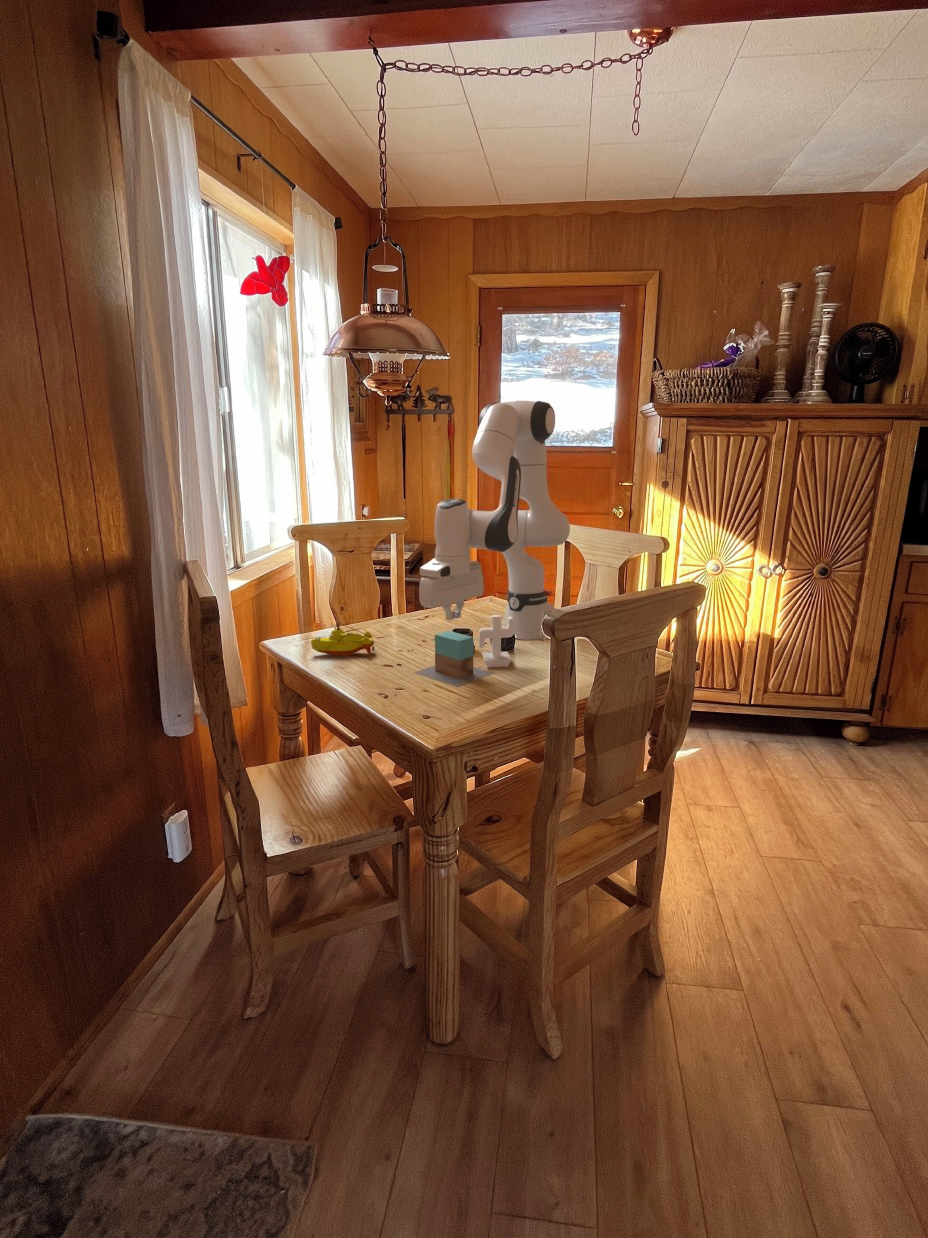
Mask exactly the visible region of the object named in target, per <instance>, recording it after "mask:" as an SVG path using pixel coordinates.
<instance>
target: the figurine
mask: <svg viewBox="0 0 928 1238" xmlns="http://www.w3.org/2000/svg"><path fill="white" fill-rule="evenodd" d="M502 617H503V616H502V615H500V614H493V615H491V616H490V622H491V627H482V628H480V629H479V631H478V647H479V648H480V649H484V648H485V646H486V639H491V651H489V652H488V651H485V652H481V655H482V657H483V660H484V663H485V665H486V667H487V668H505V667H507V668H508V667H509V665H510V663H511V662H512V658H511V655H510V653H509V652H508V651H502V644H501V643H502V638H503V639H504V638H510V637H512V636H513V634H514V618H513V617H509V618H508V626H507V627H502V622H503V620H502V619H503V618H502Z"/></svg>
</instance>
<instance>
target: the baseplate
mask: <svg viewBox="0 0 928 1238" xmlns="http://www.w3.org/2000/svg"><path fill="white" fill-rule="evenodd" d="M413 674H416V675H420V676H423V677H425V678H428V679H431V680H435V681H438V682H441V683H444V684H447V685H450V686H452V687H453V686H454V687H456V688H459V687H462V686H465V685H467V684H469V683H470V684H471V683H473V682H475V681H478V680H481V679H483V678H485V677H488V676H491V675H494V674H495V672H492V671H490V670H486V669H483V668H480V667H476V666H473V675H470V676H467V677H464V678H462V679H458V678H455V677H452V676H449V675H445V674H442V673H439V672H436V671H435V665H431V666H429V667H426V668H423V669H421V670H418V671H417V670H416V671H414V672H413Z"/></svg>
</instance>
